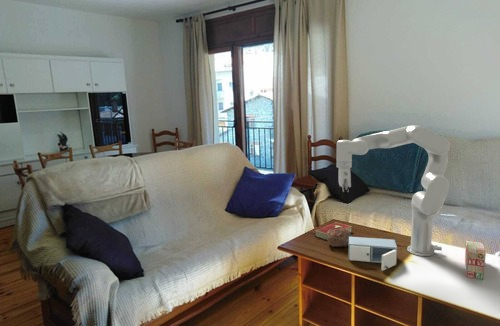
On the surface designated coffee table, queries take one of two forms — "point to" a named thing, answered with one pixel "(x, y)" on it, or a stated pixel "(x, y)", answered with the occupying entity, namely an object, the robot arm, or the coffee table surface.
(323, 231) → the hardcover book
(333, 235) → the decorative rock
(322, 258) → the coffee table surface
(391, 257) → the left door
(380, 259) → the cabinet
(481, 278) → the stack of blocks
